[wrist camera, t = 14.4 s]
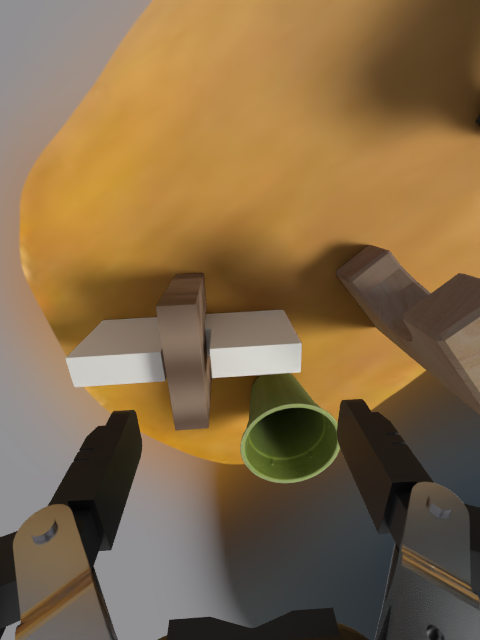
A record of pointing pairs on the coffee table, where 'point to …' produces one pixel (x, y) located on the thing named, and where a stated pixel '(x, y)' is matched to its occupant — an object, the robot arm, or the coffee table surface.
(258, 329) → the white notched plate
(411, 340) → the decorative block
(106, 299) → the coffee table surface
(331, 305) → the coffee table surface
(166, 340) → the walnut notched plate
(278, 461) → the plant pot
